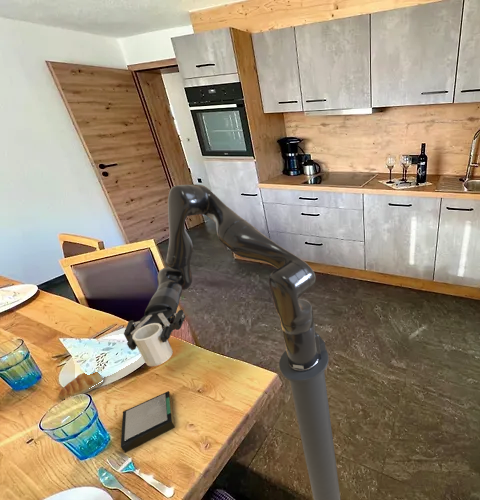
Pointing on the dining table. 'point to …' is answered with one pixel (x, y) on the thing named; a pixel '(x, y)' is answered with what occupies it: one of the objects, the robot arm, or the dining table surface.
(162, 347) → the cup
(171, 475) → the dining table surface
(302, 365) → the robot arm
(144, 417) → the scale
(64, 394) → the pastry
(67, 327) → the dining table surface
